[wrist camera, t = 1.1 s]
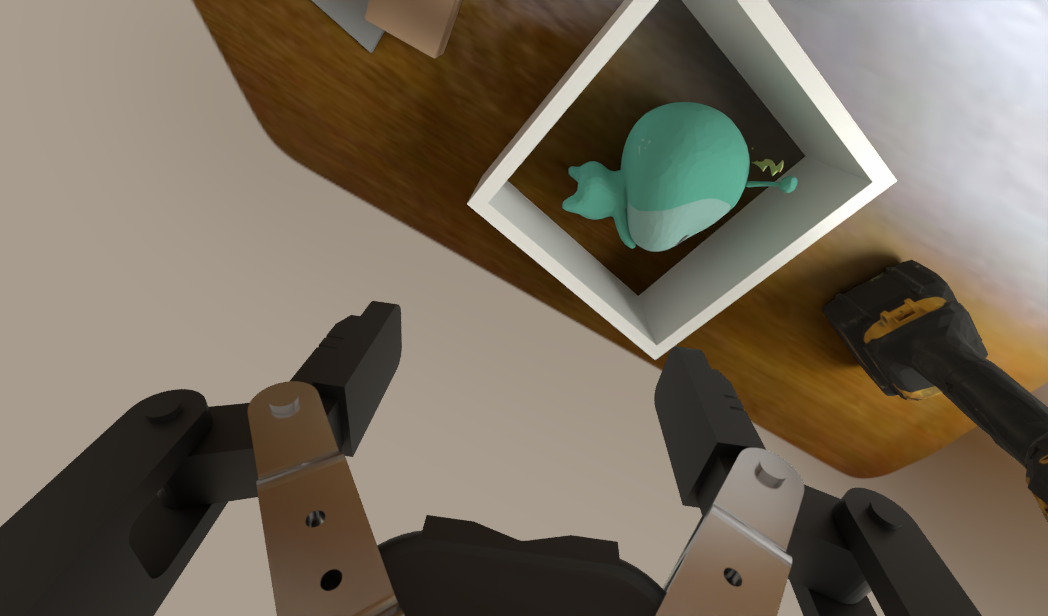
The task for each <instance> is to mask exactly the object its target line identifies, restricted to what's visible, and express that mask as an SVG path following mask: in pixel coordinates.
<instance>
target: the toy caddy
mask: <svg viewBox="0 0 1048 616" xmlns="http://www.w3.org/2000/svg"><path fill="white" fill-rule="evenodd" d="M658 1H659V0H624V1H623V2H622V4H621V5H620V6H619V7H618V9H617V10H616V11H615V12H614V14H613V15H612V16H611V17H610V18H609V20H608V21H607V22H606V23H605V25H604V26H603V27H602V28H601V30H600V31H599V32H598V33H597V35H596V36H595V37H594V38H593V40H592V41H591V42H590V43H589V44H588V46H587V47H586V48H585V49H584V51H583V52H582V53H581V54H580V56H579V57H578V58H577V59H576V61H575V62H574V63H573V64H572V66H571V67H570V68H569V69H568V70H567V72H566V73H565V74H564V75H563V77H562V78H561V79H560V80H559V82H558V83H557V84H556V85H555V87H554V88H553V89H552V90H551V92H550V93H549V94H548V95H547V96H546V98H545V99H544V100H543V101H542V103H541V104H540V105H539V106H538V108H537V109H536V110H535V111H534V113H533V114H532V115H531V116H530V117H529V119H528V120H527V121H526V122H525V124H524V125H523V126H522V127H521V129H520V130H519V131H518V132H517V134H516V135H515V136H514V137H513V139H512V140H511V141H510V142H509V143H508V145H507V146H506V147H505V148H504V150H503V151H502V152H501V153H500V155H499V156H498V157H497V158H496V160H495V161H494V162H493V163H492V165H491V166H490V167H489V168H488V169H487V171H486V172H485V173H484V174H483V176H482V178H481V179H480V181H479V183H478V185H477V187H476V188H475V190H474V192H473V194H472V196H471V197H470V199H469V201H468V203H467V205H469V206H470V207H471V208H472V209H473V210H475V211H476V212H477V213H478V214H479V215H481V216H482V217H483V218H484V219H485V220H487V221H488V222H489V223H490V224H491V225H493V226H494V227H495V228H496V229H497V230H499V231H500V232H501V233H502V234H504V235H505V236H506V237H507V238H508V239H510V240H511V241H512V242H513V243H514V244H516V245H517V246H518V247H519V248H520V249H522V250H523V251H524V252H525V253H526V254H528V255H529V256H530V257H531V258H532V259H534V260H535V261H536V262H537V263H539V264H540V265H541V266H542V267H543V268H545V269H546V270H547V271H548V272H549V273H551V274H552V275H553V276H554V277H555V278H557V279H558V280H559V281H560V282H561V283H563V284H564V285H565V286H566V287H568V288H569V289H570V290H571V291H572V292H574V293H575V294H576V295H577V296H578V297H580V298H581V299H582V300H583V301H584V302H586V303H587V304H588V305H589V306H590V307H592V308H593V309H594V310H595V311H596V312H598V313H599V314H600V315H601V316H603V317H604V318H605V319H606V320H607V321H609V322H610V323H611V324H612V325H613V326H615V327H616V328H617V329H618V330H619V331H621V332H622V333H623V334H624V335H625V336H627V337H628V338H629V339H630V340H631V341H633V342H634V343H635V344H636V345H638V346H639V347H640V348H641V349H642V350H644V351H645V352H646V353H647V354H648V355H650V356H651V357H652V358H653V359H654V360H656V359H657V358H659V357H660V356H661V355H663V354H664V353H665V352H667V351H668V350H669V349H671V348H672V347H674V346H675V345H676V344H678V343H679V342H680V341H682V340H683V339H684V338H686V337H687V336H688V335H690V334H691V333H692V332H694V331H695V330H696V329H698V328H699V327H701V326H702V325H703V324H705V323H706V322H707V321H709V320H710V319H711V318H713V317H714V316H715V315H717V314H718V313H719V312H721V311H722V310H724V309H725V308H726V307H728V306H729V305H730V304H732V303H733V302H734V301H736V300H737V299H738V298H740V297H741V296H742V295H744V294H745V293H746V292H748V291H749V290H751V289H752V288H753V287H755V286H756V285H757V284H759V283H760V282H761V281H763V280H764V279H765V278H767V277H768V276H769V275H771V274H772V273H774V272H775V271H776V270H778V269H779V268H780V267H782V266H783V265H784V264H786V263H787V262H788V261H790V260H791V259H792V258H794V257H795V256H796V255H798V254H799V253H801V252H802V251H803V250H805V249H806V248H807V247H809V246H810V245H811V244H813V243H814V242H815V241H817V240H818V239H819V238H821V237H822V236H824V235H825V234H826V233H828V232H829V231H830V230H832V229H833V228H834V227H836V226H837V225H838V224H840V223H841V222H842V221H844V220H845V219H846V218H848V217H849V216H851V215H852V214H853V213H855V212H856V211H857V210H859V209H860V208H861V207H863V206H864V205H865V204H867V203H868V202H869V201H871V200H872V199H874V198H875V197H876V196H878V195H879V194H880V193H882V192H883V191H884V190H886V189H887V188H888V187H890V186H891V185H892V184H894V183H895V182H896V181H897V180H896V178H895V177H894V176H893V174H892V173H891V172H890V170H889V169H888V167H887V166H886V165H885V163H884V162H883V160H882V159H881V158H880V156H879V155H878V154H877V152H876V151H875V149H874V148H873V147H872V145H871V144H870V142H869V141H868V140H867V138H866V137H865V135H864V134H863V133H862V131H861V130H860V129H859V127H858V126H857V124H856V123H855V122H854V120H853V119H852V117H851V116H850V115H849V113H848V112H847V110H846V109H845V108H844V106H843V105H842V104H841V102H840V101H839V99H838V98H837V97H836V95H835V94H834V92H833V91H832V90H831V88H830V87H829V86H828V84H827V83H826V81H825V80H824V79H823V77H822V76H821V74H820V73H819V72H818V70H817V69H816V67H815V66H814V65H813V63H812V62H811V61H810V59H809V58H808V56H807V55H806V54H805V52H804V51H803V49H802V48H801V47H800V45H799V44H798V43H797V41H796V40H795V38H794V37H793V36H792V34H791V33H790V31H789V30H788V29H787V27H786V26H785V24H784V23H783V22H782V20H781V19H780V18H779V16H778V15H777V13H776V12H775V11H774V9H773V8H772V6H771V5H770V4H769V2H768V1H767V0H681V1H682V2H683V3H684V4H685V6H686V7H687V8H688V9H689V11H690V12H691V13H692V14H693V16H694V17H695V18H696V19H697V21H698V22H699V23H700V24H701V26H702V27H703V28H704V29H705V31H706V32H707V33H708V34H709V36H710V37H711V38H712V39H713V41H714V42H715V43H716V44H717V46H718V47H719V48H720V49H721V51H722V52H723V53H724V54H725V56H726V57H727V58H728V59H729V61H730V62H731V63H732V64H733V66H734V67H735V68H736V70H737V71H738V72H739V73H740V75H741V76H742V77H743V78H744V80H745V81H746V82H747V83H748V85H749V86H750V87H751V88H752V90H753V91H754V92H755V93H756V95H757V96H758V97H759V98H760V100H761V101H762V102H763V103H764V105H765V106H766V107H767V108H768V110H769V111H770V112H771V113H772V115H773V116H774V117H775V118H776V120H777V121H778V122H779V123H780V125H781V126H782V127H783V128H784V130H785V131H786V132H787V133H788V135H789V136H790V137H791V139H792V140H793V141H794V142H795V144H796V145H797V146H798V147H799V149H800V150H801V151H802V152H803V154H804V155H805V157H804V158H803V159H801V160H800V161H799V162H798V163H797V164H795V165H794V166H793V167H792V168H791V169H789V170H788V171H787V172H786V173H785V174H783V175H782V176H781V177H780V178H779V179H777V180H776V181H775V182H781V180H782V179H783V178H784V177H787V176H794V177H795V178H796V179H797V180H798V181H797V185H796V187H795V189H794V191H792V192H790V193H783V192H782V191H781V190H780V189H779V186H778V187H770V186H769V187H768V188H767V189H766V190H764V191H763V192H762V193H761V194H760V195H758V196H757V197H756V198H755V199H754V200H752V201H751V202H750V203H749V204H748V205H746V206H745V207H744V208H743V209H742V210H740V211H739V212H738V213H737V214H736V215H735V216H733V217H732V218H731V219H730V220H729V221H727V222H726V223H725V224H724V225H723V226H721V227H720V228H719V229H718V230H717V231H715V232H714V233H713V234H712V235H711V236H709V237H708V238H707V239H706V240H705V241H703V242H702V243H701V244H700V245H699V246H698V247H696V248H695V249H694V250H693V251H692V252H690V253H689V254H688V255H687V256H686V257H684V258H683V259H682V260H681V261H680V262H678V263H677V264H676V265H675V266H674V267H672V268H671V269H670V270H669V271H668V272H666V273H665V274H664V275H663V276H662V277H660V278H659V279H658V280H657V281H656V282H655V283H653V284H652V285H651V286H650V287H649V288H647V289H646V290H645V291H644V292H643V293H641V294H640V295H639V296H638V295H636V294H635V293H634V292H633V291H632V290H631V289H630V288H628V287H627V286H626V285H625V284H624V283H623V282H622V281H621V280H619V279H618V278H617V277H616V276H615V275H614V274H613V273H611V272H610V271H609V270H608V269H607V268H606V267H605V266H604V265H602V264H601V263H600V262H599V261H598V260H597V259H596V258H594V257H593V256H592V255H591V254H590V253H589V252H588V251H587V250H585V249H584V248H583V247H582V246H581V245H580V244H579V243H577V242H576V241H575V240H574V239H573V238H572V237H571V236H570V235H568V234H567V233H566V232H565V231H564V230H563V229H562V228H560V227H559V226H558V225H557V224H556V223H555V222H554V221H552V220H551V219H550V218H549V217H548V216H547V215H546V214H545V213H543V212H542V211H541V210H540V209H539V208H538V207H537V206H535V205H534V204H533V203H532V202H531V201H530V200H529V199H528V198H526V197H525V196H524V195H523V194H522V193H521V192H520V191H518V190H517V189H516V188H515V187H514V186H513V185H512V184H511V183H509V182H508V181H507V180H508V178H509V177H510V176H511V175H512V174H513V173H514V171H515V170H516V169H517V168H518V167H519V165H520V164H521V163H522V162H523V161H524V160H525V158H526V157H527V156H528V155H529V154H530V152H531V151H532V150H533V149H534V148H535V147H536V145H537V144H538V143H539V142H540V141H541V139H542V138H543V137H544V136H545V135H546V133H547V132H548V131H549V130H550V129H551V128H552V126H553V125H554V124H555V123H556V122H557V120H558V119H559V118H560V117H561V116H562V115H563V113H564V112H565V111H566V110H567V109H568V107H569V106H570V105H571V104H572V103H573V102H574V100H575V99H576V98H577V97H578V96H579V94H580V93H581V92H582V91H583V90H584V88H585V87H586V86H587V85H588V84H589V83H590V81H591V80H592V79H593V78H594V77H595V75H596V74H597V73H598V72H599V71H600V70H601V68H602V67H603V66H604V65H605V64H606V62H607V61H608V60H609V59H610V58H611V57H612V55H613V54H614V53H615V52H616V51H617V49H618V48H619V47H620V46H621V45H622V44H623V42H624V41H625V40H626V39H627V38H628V36H629V35H630V34H631V33H632V32H633V30H634V29H635V28H636V27H637V26H638V25H639V23H640V22H641V21H642V20H643V19H644V17H645V16H646V15H647V14H648V13H649V12H650V10H651V9H652V8H653V7H654V6H655V4H656V3H657V2H658ZM803 164H805V165H804V166H803V167H802V165H803Z"/></svg>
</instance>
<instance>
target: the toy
mask: <svg viewBox="0 0 1048 616" xmlns="http://www.w3.org/2000/svg"><path fill="white" fill-rule="evenodd" d="M753 149H754V148H753V147H752V150H753ZM750 163H754V164H756V165H757V166H758V167H760V168H761V169H762V171H764V170H765V168H766V167H767V166H770V169H771V174H772V176H773V175H775V174H776V173H777V172H778V171H779V172H781V170H782V168H783V160H782V161H781V162H780V163H779V164H778V165H777V166H775V164H774V162H773V161H772V160H770V159H765V160H764V161H763V162H759V161H758V159H757V161H756V162H750V160H749V153H748V149H747V145H746V143H745V140H744V138H743V136H742V134H741V132H740V131H739V129H738V128H737V127H736V125H735V124H734V123H733V122H732V120H731V119H730V118H728V117H727V116H726V115H725V114H723V113H722V112H720V111H719V110H716V109H714V108H712V107H710V106H707V105H704V104H699V103H693V102H676V103H670V104H665V105H662V106H660V107H657V108H655V109H653V110H651V111H649V112H648V113H646V114H645V115H644V116H643V117H641V118H640V119H639V120H638V121H637V123H636V124H635V125H634V127H633V128H632V130H631V132H630V133H629V136H628V138H627V140H626V143H625V146H624V149H623V154H622V161H621V169H620V170H619V171H610V170H608V169H607V168H606V167H605V166H603V165H602V164H601V163H598V162H595V161H589V162H587V163H585V164H583V165H582V166H580V167H573V166H571V167H570V168H569V175H570V176H571V177H572V178H574V179H575V180H576V181H577V182H578V189H577V192H576V193H575V194H574V195H573V196H570V197H568V198H567V199H566V200H565V201H564V202H563V205H562V207H563V209H564V210H566V211H569V212H573V213H577V214H580V215H582V216H583V217H585V218H588V219H594V220H597V219H602V218H606V217H609V216H612V217H613V218H614V220H615V224H616V228H617V230H618V233H619V235H620V238H621V239H622V241H623V242H624V244H625V245H627V246H628V247H629V248H635V246H636V245H635V244H637V245H638V246H640V247H642V248H643V249H645V250H648V251H655V252H659V251H664V250H668V249H670V248H672V247H675V246H677V245H678V244H680V243H681V242H682V241H684V240H685V239H687V238H689V237H691V236H692V235H694V234H696V233H698V232H700V231H702V230H704V229H706V228H707V227H709V226H710V225H712V224H714V223H715V222H716V221H718V220H719V219H720V218H721V217H723V216H724V215H725V214H727V213H729V212H730V210H731V209H732V208H733V207H734V206H735V205H736V204H737V202H738V200H739V199H740V197H741V195H742V192H743V190H744V188H745V187H759V186H770V187H778V186H779V189H780V190H781V191H782V192H783V193H790V192H792V191H794V189H795V187H796V185H797V181H798V180H797V179H796V178H795V177H794V176H787V177H784V178H783V179H782V180H781V182H761V181H747V178H748V175H749V164H750ZM804 165H805V164H803V165H802V167H803V166H804Z"/></svg>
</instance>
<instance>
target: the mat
mask: <svg viewBox="0 0 1048 616" xmlns="http://www.w3.org/2000/svg"><path fill="white" fill-rule="evenodd" d="M312 1H313V2H314V3H315V4H316V5H317V6H318V7H320V8H321V9H322V10H323V11H324V12H325V13H326V14H327V15H329V16H330V17H331V18H332V19H333V20H334V21H335V22H336V23H338V24H339V25H340V26H341V27H342V28H343V29H344V30H346V31H347V32H348V33H349V34H350V35H351V36H352V37H353V38H355V39H356V40H357V41H358V42H359V43H360V44H361V45H362V46H364V47H365V48H366V49H367V50H368V51H369V52H370V53H372V52H373V51H374V49H375V47H376V46H377V44H378V42H379V40H380V39H381V37H382V35H383V33H384V32H385V31H384V30H383V29H381V28H379V27H377V26H376V25H374V24H372V23H370V22H369V21H367V20H365V15H366V11H367V8H368V4H369V0H312Z"/></svg>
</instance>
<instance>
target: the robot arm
mask: <svg viewBox="0 0 1048 616" xmlns="http://www.w3.org/2000/svg"><path fill="white" fill-rule="evenodd" d="M401 348H402V342H401V309H400V306H399V305H397V304H390V303H384V302H377V301H372V302H371V303H370V304H369V306H368V307H367V308H366V309H365V311H364V312H363V314H362V315H361V316H354V315H350V316H349V317H347V318H345V319H344V320H342V321H340V322H338V323H337V324H335V326H334V327H333V328H332V329H331V331H330V332H329V333H328V334H327V337H326V338H324V339H323V341H322V342H321V343H320V344H319V347H318V348H316V349H315V350H314V352H313V353H312V354H311V356H310V357H309V358H308V359H307V360H306V362H305V363H304V364H303V365H302V367H301V368H300V369H299V370H298V371H297V373H296V374H295V375H294V377H293V378H292V379H291V380H290V381H289V382H283V383H278V384H275V385H272V386H270V387H268V388H266V389H264V390H262V391H261V392H259V393H258V394H257V395H256V396H255V397H254V398H253V399H252V400H251V402H250V403H245V404H234V405H224V406H214V407H208V405H207V402H206V400H205V398H204V396H203V395H202V394H200V393H199V392H196V391H193V390H186V389H179V390H171V391H166V392H162V393H159V394H156V395H153V396H150V397H149V398H146V399H144V400H142V401H140V402H139V403H137V404H136V405H134V406H133V407H132V408H130V409H129V410H128V411H127V412H126V413H125V414H124V415H123V416H122V417H120V418H119V419H118V420H117V421H116V422H115V423H114V424H113V425H112V426H111V427H109V428H108V429H107V430H106V431H105V432H104V433H103V434H102V435H101V436H100V437H99V438H97V439H96V440H95V441H94V442H93V443H92V444H91V445H90V446H89V447H88V448H86V449H85V450H84V451H83V452H82V453H81V454H80V455H79V456H78V457H77V458H76V459H74V460H73V461H72V462H71V463H70V464H69V465H68V466H67V467H66V468H65V469H63V471H61V472H60V473H59V474H58V475H57V476H56V477H55V478H54V479H53V480H51V482H49V483H48V484H47V485H46V486H45V487H44V488H43V489H42V490H41V491H40V492H38V493H37V494H36V495H35V496H34V497H33V498H32V499H31V500H30V501H28V502H27V503H26V504H25V505H24V506H23V507H22V508H21V509H20V510H19V511H18V512H16V513H15V514H14V515H13V516H12V517H11V518H10V519H9V520H8V521H7V522H6V523H4V524H3V525H2V526H1V527H0V616H154V614H155V613H156V611H157V610H158V608H159V607H160V605H161V604H162V602H163V600H164V599H165V598H166V596H167V594H168V593H169V591H170V590H171V588H172V587H173V585H174V584H175V582H176V581H177V579H178V578H179V576H180V575H181V573H182V572H183V570H184V568H185V567H186V565H187V564H188V562H189V561H190V559H191V558H192V556H193V555H194V553H195V552H196V550H197V549H198V547H199V546H200V544H201V543H202V541H203V540H204V538H205V536H206V535H207V533H208V532H209V530H210V529H211V527H212V526H213V524H214V523H215V521H216V520H217V518H218V517H219V515H220V513H221V512H222V510H223V509H224V507H225V506H226V504H227V503H228V501H234V500H240V499H247V498H253V497H258V498H259V504H260V511H261V516H262V523H263V530H264V536H265V543H266V548H267V555H268V561H269V568H270V574H271V580H272V587H273V593H274V599H275V605H276V612H277V616H777V614H778V610H779V607H780V603H781V600H782V597H783V593H784V590H785V586H786V583H787V579H789V580H790V582H791V585H792V587H793V590H794V592H795V595H796V598H797V600H798V603H799V605H800V608H801V610H802V613H803V616H877V614H876V613H875V611H874V609H873V607H872V605H871V603H870V601H869V599H868V597H867V594H868V593H870V592H871V591H872V592H873V594H874V596H875V597H876V599H877V601H878V603H879V605H880V607H881V609H882V610H883V612H884V614H885V616H981V614H980V613H979V611H978V610H977V608H976V607H975V606H974V604H973V603H972V601H971V600H970V599H969V597H968V596H967V594H966V593H965V591H964V590H963V589H962V587H961V586H960V584H959V583H958V582H957V580H956V579H955V577H954V576H953V575H952V573H951V572H950V570H949V569H948V568H947V566H946V565H945V563H944V562H943V561H942V559H941V558H940V556H939V555H938V554H937V552H936V551H935V549H934V548H933V547H932V545H931V543H930V542H929V541H928V539H927V538H926V536H925V535H924V534H923V533H922V531H921V530H920V528H919V527H918V525H917V524H916V522H915V521H914V520H913V519H912V518H911V517H910V516H909V514H908V513H907V512H906V511H904V510H903V509H902V508H901V507H900V506H899V505H897V504H896V503H895V502H893V501H892V500H890V499H888V498H887V497H885V496H883V495H881V494H879V493H877V492H875V491H872V490H868V489H865V488H852V489H850V490H848V491H847V492H846V494H845V495H844V496H843V497H842V498H841V499H839V498H836V497H834V496H831V495H829V494H826V493H824V492H821V491H819V490H816V489H814V488H811V487H809V486H806V485H804V483H803V480H802V479H801V477H800V475H799V474H798V472H797V471H796V470H795V469H794V468H793V466H791V465H790V464H789V463H788V462H787V461H785V460H784V459H783V458H781V457H780V456H778V455H776V454H774V453H772V452H770V451H768V450H766V449H765V447H764V445H763V443H762V441H761V439H760V437H759V435H758V433H757V431H756V430H755V428H754V426H753V424H752V422H751V420H750V418H749V416H748V414H747V413H746V411H744V407H743V405H742V403H741V401H740V400H739V399H738V396H737V394H736V392H735V390H734V388H733V386H732V384H731V383H730V382H729V381H728V380H727V379H726V378H725V377H724V376H723V375H722V374H721V373H720V372H719V371H718V370H715V369H711V368H710V366H709V364H708V362H707V359H706V357H705V355H704V353H703V352H702V351H701V350H696V349H689V348H683V347H676V346H675V347H673V348H672V349H671V351H670V353H669V355H668V358H667V360H666V363H665V365H664V368H663V371H662V373H661V376H660V378H659V381H658V383H657V386H656V390H655V400H654V401H655V408H656V411H657V415H658V419H659V422H660V426H661V429H662V433H663V436H664V440H665V443H666V447H667V450H668V454H669V458H670V461H671V465H672V468H673V472H674V476H675V479H676V483H677V486H678V489H679V493H680V497H681V501H682V504H683V505H685V506H692V507H699V508H700V510H701V513H702V517H701V519H700V521H699V522H698V524H697V526H696V528H695V530H694V531H693V533H692V535H691V537H690V539H689V541H688V542H687V544H686V546H685V548H684V550H683V552H682V554H681V555H680V557H679V559H678V561H677V563H676V565H675V566H674V568H673V570H672V572H671V574H670V576H669V577H668V579H667V581H666V583H665V584H664V586H663V588H661V587H660V586H659V585H658V584H657V583H656V582H655V581H654V580H653V579H652V578H650V577H649V576H648V575H647V574H645V573H644V572H642V571H641V570H639V569H638V568H637V567H635V566H633V565H631V564H629V563H628V562H626V561H624V560H622V559H620V558H619V550H618V542H613V541H607V540H600V539H593V538H586V537H579V536H572V535H570V536H562V537H554V538H546V539H538V540H530V541H520V540H517V539H514V538H512V537H509V536H507V535H505V534H502V533H500V532H497V531H495V530H493V529H490V528H488V527H485V526H483V525H481V524H478V523H475V522H472V521H465V520H458V519H451V518H444V517H437V516H430V515H427V516H426V520H425V523H424V527H423V530H422V531H415V532H411V533H407V534H403V535H400V536H397V537H394V538H392V539H389V540H387V541H385V542H383V543H381V544H379V545H377V544H376V541H375V538H374V536H373V533H372V530H371V528H370V524H369V522H368V519H367V517H366V514H365V511H364V508H363V505H362V502H361V499H360V497H359V494H358V491H357V488H356V486H355V483H354V480H353V477H352V475H351V472H350V469H349V466H348V463H347V461H346V458H345V456H350V457H353V455H354V454H355V452H356V450H357V448H358V445H359V443H360V442H361V440H362V438H363V436H364V433H365V431H366V430H367V427H368V426H369V424H370V422H371V419H372V418H373V416H374V414H375V411H376V410H377V408H378V405H379V403H380V402H381V400H382V398H383V396H384V394H385V392H386V390H387V388H388V386H389V384H390V382H391V380H392V378H393V376H394V374H395V372H396V370H397V367H398V365H399V361H400V357H401Z"/></svg>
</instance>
